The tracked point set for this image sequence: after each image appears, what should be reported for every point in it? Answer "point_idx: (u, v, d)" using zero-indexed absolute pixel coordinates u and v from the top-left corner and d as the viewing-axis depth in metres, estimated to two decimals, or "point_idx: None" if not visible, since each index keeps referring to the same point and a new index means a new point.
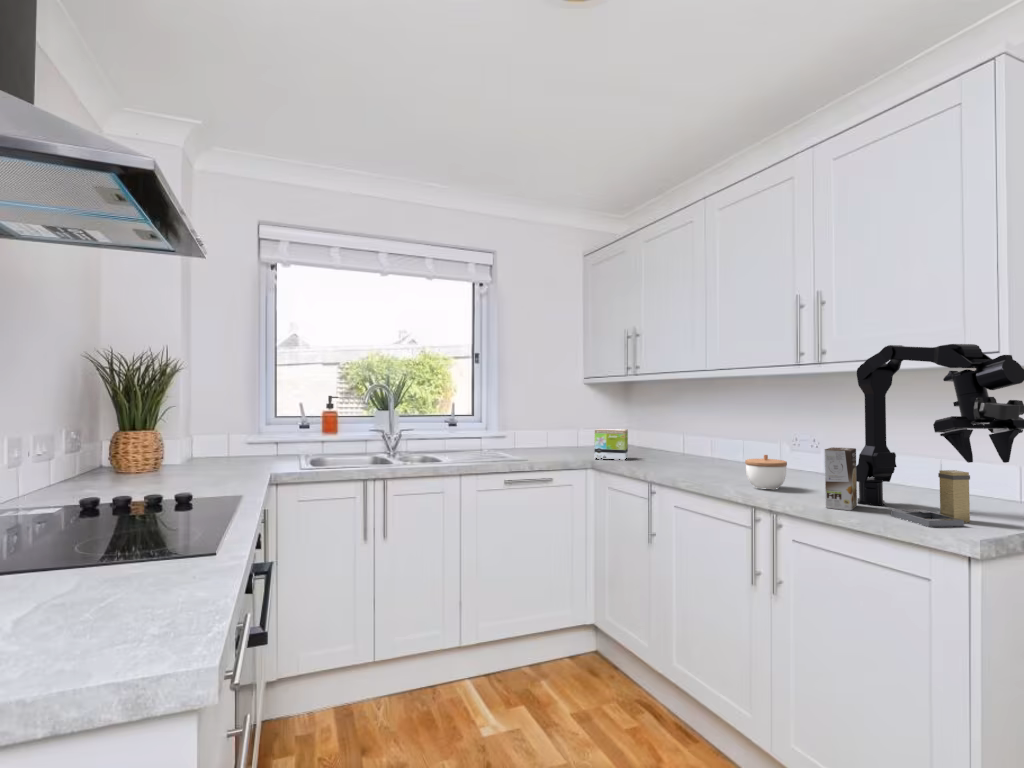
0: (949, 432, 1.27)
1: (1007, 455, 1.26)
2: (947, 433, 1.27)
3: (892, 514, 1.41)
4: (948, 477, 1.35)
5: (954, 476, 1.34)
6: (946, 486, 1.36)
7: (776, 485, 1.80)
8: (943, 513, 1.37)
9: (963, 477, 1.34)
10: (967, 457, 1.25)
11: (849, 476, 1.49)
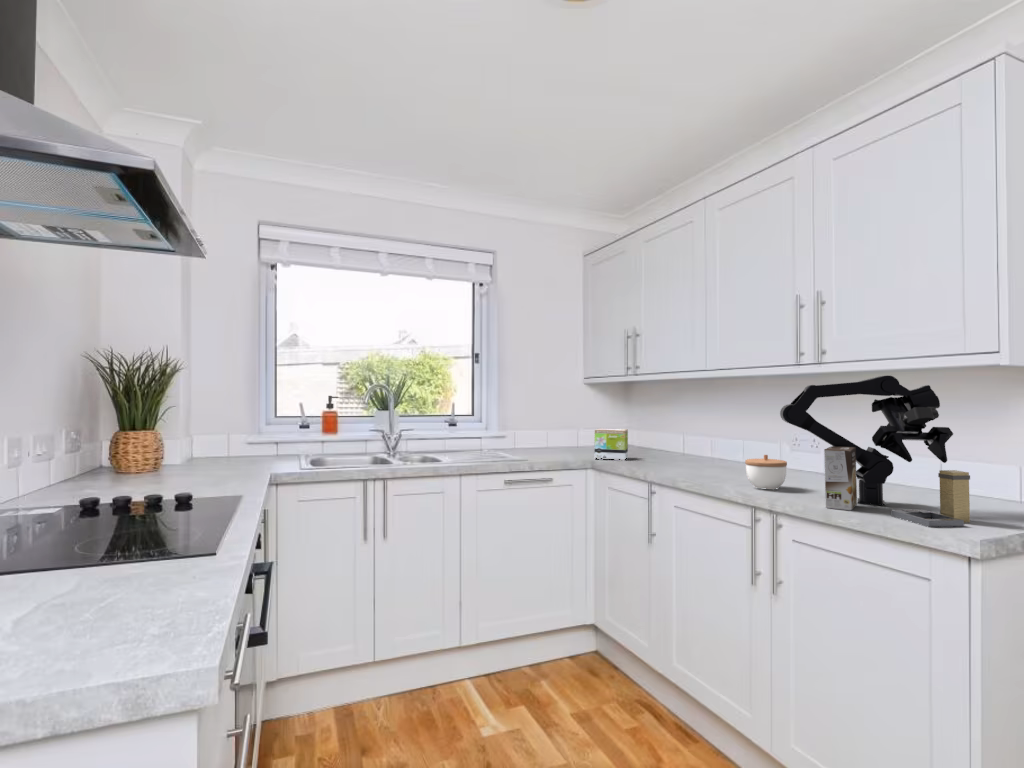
0: (885, 440, 1.48)
1: (944, 455, 1.44)
2: (884, 442, 1.49)
3: (892, 514, 1.41)
4: (948, 477, 1.35)
5: (954, 476, 1.34)
6: (946, 486, 1.36)
7: (776, 485, 1.80)
8: (943, 513, 1.37)
9: (963, 477, 1.34)
10: (907, 457, 1.44)
11: (849, 476, 1.48)
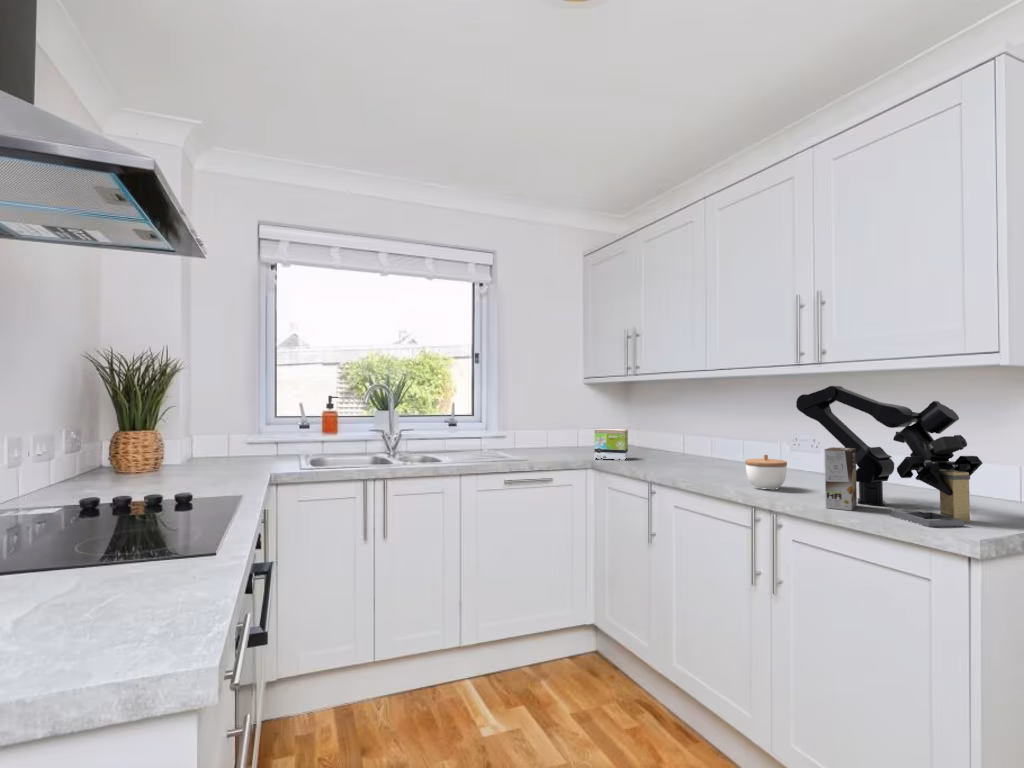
0: (920, 472, 1.39)
1: None
2: (919, 474, 1.40)
3: (892, 514, 1.41)
4: (948, 477, 1.35)
5: (954, 476, 1.34)
6: None
7: (776, 485, 1.80)
8: (943, 513, 1.37)
9: (963, 477, 1.34)
10: (946, 490, 1.35)
11: (849, 476, 1.49)
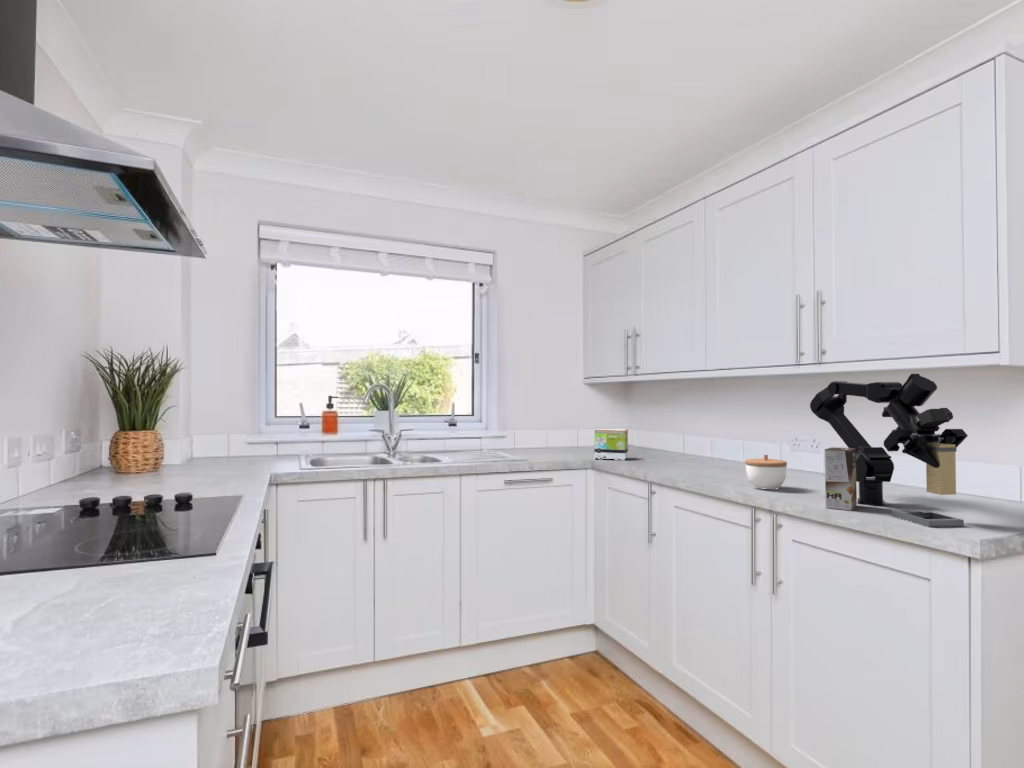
0: (907, 445, 1.39)
1: None
2: (906, 447, 1.39)
3: (892, 514, 1.41)
4: (935, 449, 1.35)
5: (941, 448, 1.33)
6: None
7: (776, 485, 1.80)
8: (929, 486, 1.36)
9: (950, 449, 1.34)
10: (932, 463, 1.35)
11: (849, 476, 1.49)
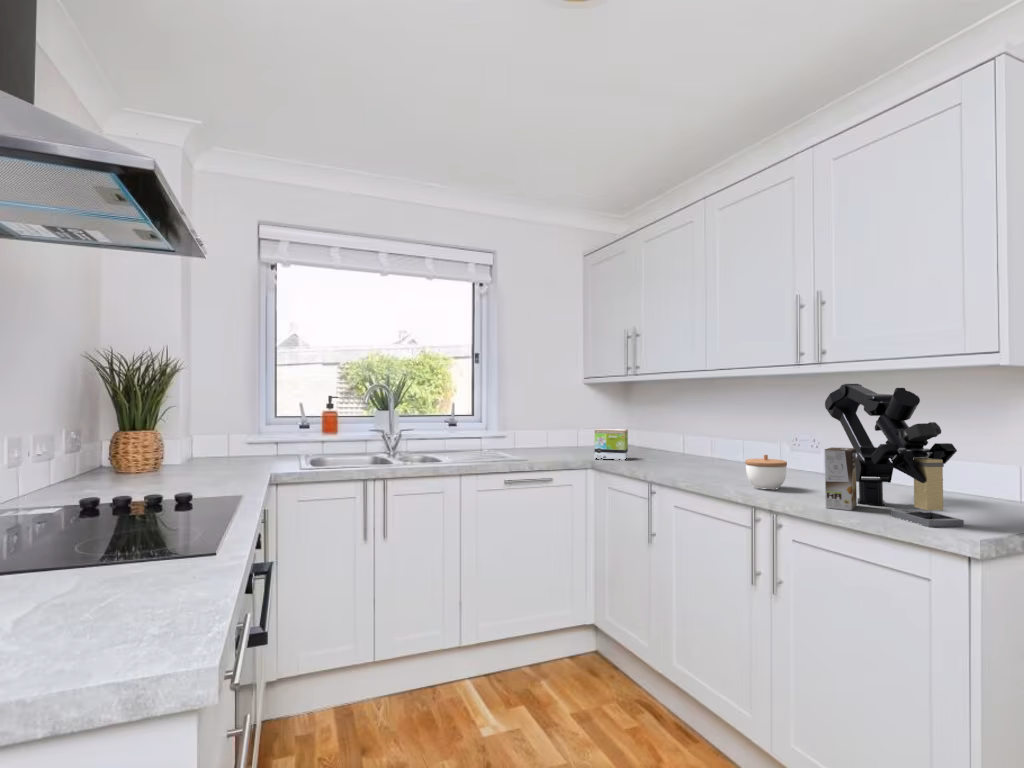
0: (894, 460, 1.38)
1: None
2: (894, 461, 1.39)
3: (892, 514, 1.41)
4: (922, 464, 1.34)
5: (927, 463, 1.33)
6: None
7: (776, 485, 1.80)
8: (917, 501, 1.36)
9: (937, 464, 1.33)
10: (919, 478, 1.34)
11: (849, 476, 1.49)
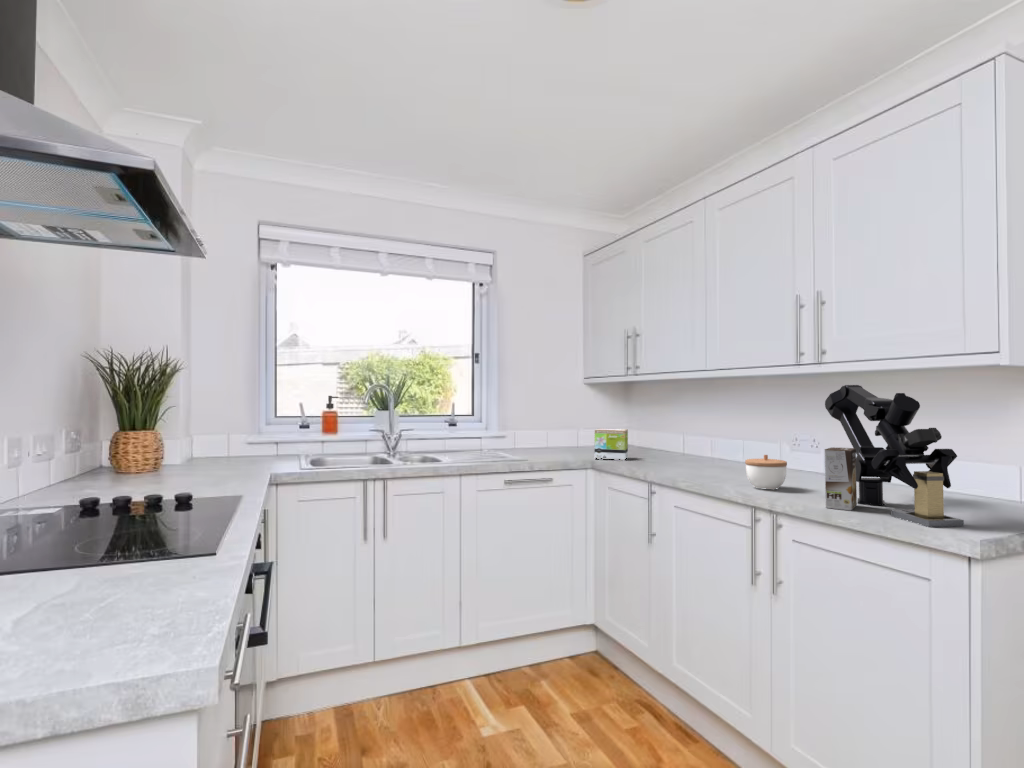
0: (887, 465, 1.38)
1: (947, 480, 1.34)
2: (886, 467, 1.38)
3: (892, 514, 1.41)
4: (922, 478, 1.34)
5: (928, 477, 1.33)
6: (920, 487, 1.35)
7: (776, 485, 1.80)
8: (917, 514, 1.36)
9: (937, 478, 1.33)
10: (912, 483, 1.34)
11: (849, 476, 1.49)
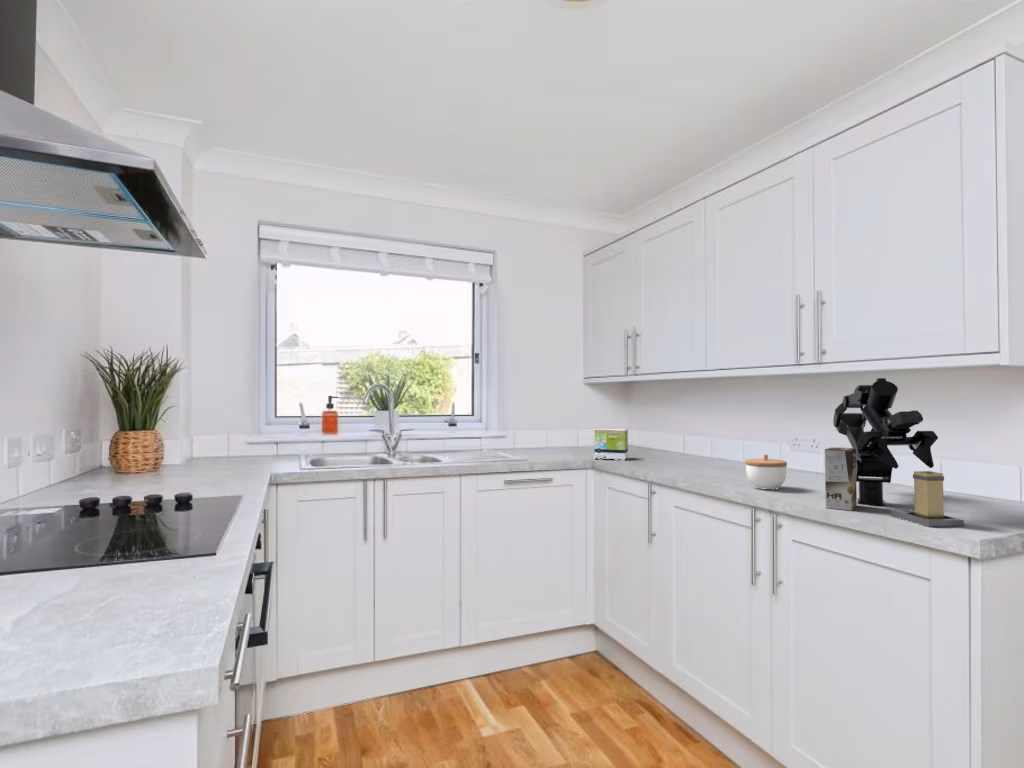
0: (869, 446, 1.44)
1: (930, 460, 1.40)
2: (869, 448, 1.44)
3: (892, 514, 1.41)
4: (922, 478, 1.34)
5: (928, 477, 1.33)
6: (920, 487, 1.35)
7: (776, 485, 1.80)
8: (917, 514, 1.36)
9: (937, 478, 1.33)
10: (893, 463, 1.40)
11: (849, 476, 1.49)
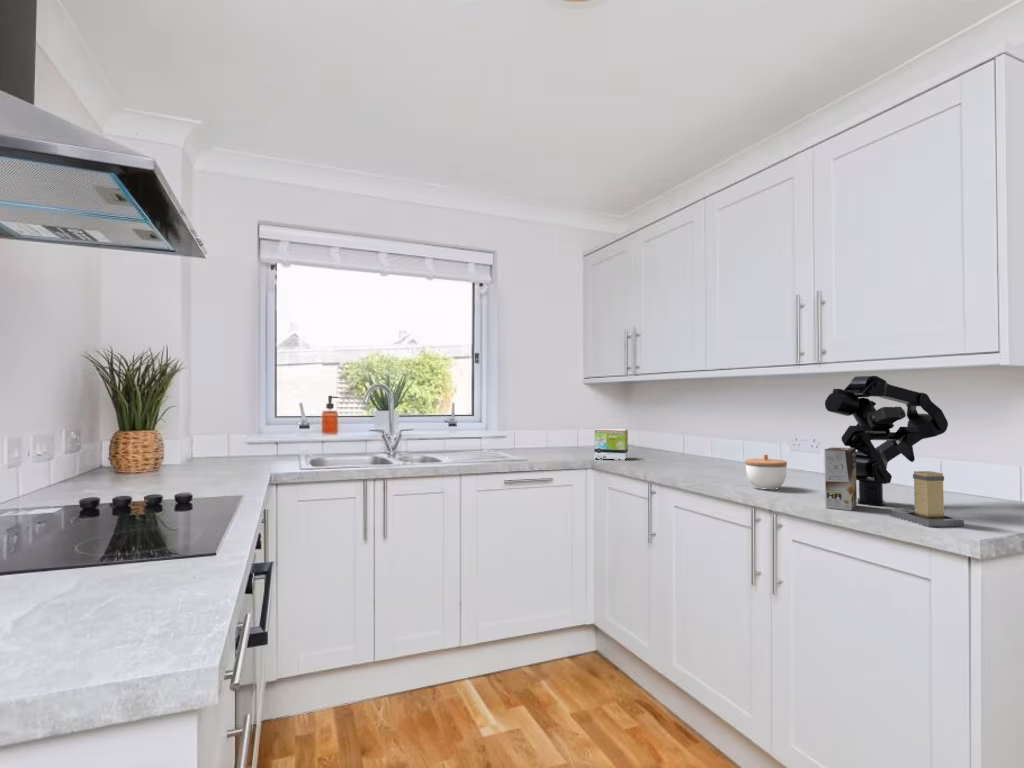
0: (854, 440, 1.49)
1: (911, 454, 1.46)
2: (853, 442, 1.50)
3: (892, 514, 1.41)
4: (922, 478, 1.34)
5: (928, 477, 1.33)
6: (920, 487, 1.35)
7: (776, 485, 1.80)
8: (917, 514, 1.36)
9: (937, 478, 1.33)
10: (875, 456, 1.45)
11: (849, 476, 1.49)
